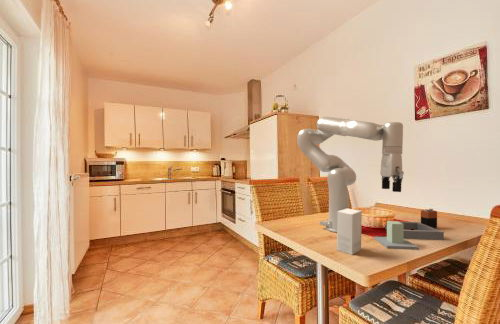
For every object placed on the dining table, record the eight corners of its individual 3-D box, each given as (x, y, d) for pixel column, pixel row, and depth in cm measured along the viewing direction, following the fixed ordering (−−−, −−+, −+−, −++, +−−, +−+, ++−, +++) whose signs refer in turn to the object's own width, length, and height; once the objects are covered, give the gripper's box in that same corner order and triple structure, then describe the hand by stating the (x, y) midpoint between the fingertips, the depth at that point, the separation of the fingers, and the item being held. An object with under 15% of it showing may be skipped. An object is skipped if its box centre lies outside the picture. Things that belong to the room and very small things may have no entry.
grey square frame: (401, 238, 107) (401, 230, 107) (382, 227, 125) (382, 221, 125) (443, 239, 105) (443, 232, 105) (418, 228, 123) (418, 222, 123)
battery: (437, 228, 125) (437, 209, 125) (428, 229, 123) (428, 210, 123) (429, 226, 129) (429, 208, 129) (420, 227, 127) (420, 208, 127)
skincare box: (346, 245, 97) (346, 208, 97) (362, 250, 92) (363, 210, 92) (336, 250, 91) (336, 210, 91) (352, 255, 86) (353, 213, 86)
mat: (387, 248, 94) (387, 245, 94) (374, 238, 106) (374, 236, 106) (418, 249, 93) (418, 246, 93) (401, 239, 105) (401, 237, 105)
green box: (391, 242, 98) (392, 223, 98) (386, 239, 102) (386, 221, 102) (403, 243, 97) (403, 224, 97) (397, 239, 102) (397, 221, 102)
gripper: (374, 151, 111) (373, 187, 111) (392, 150, 94) (391, 192, 94) (391, 151, 110) (390, 188, 110) (412, 150, 93) (411, 193, 93)
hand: (390, 190), depth 102 cm, fingers open, 9 cm apart
